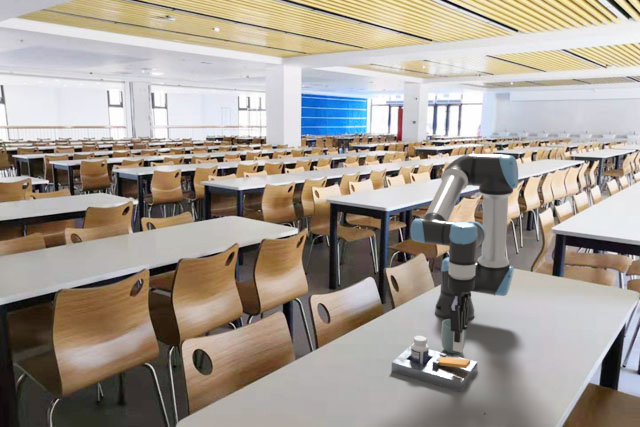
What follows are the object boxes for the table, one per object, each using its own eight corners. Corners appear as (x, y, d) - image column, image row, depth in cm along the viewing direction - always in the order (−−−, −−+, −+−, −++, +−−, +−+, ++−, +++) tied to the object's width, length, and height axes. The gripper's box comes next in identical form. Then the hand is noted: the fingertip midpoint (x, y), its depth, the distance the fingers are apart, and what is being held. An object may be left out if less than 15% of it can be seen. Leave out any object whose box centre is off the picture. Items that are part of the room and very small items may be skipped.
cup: (448, 357, 169) (449, 329, 167) (436, 347, 176) (437, 320, 174) (469, 354, 171) (470, 326, 169) (456, 344, 178) (458, 317, 176)
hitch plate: (411, 353, 172) (411, 339, 171) (476, 370, 160) (477, 356, 159) (391, 371, 160) (391, 356, 159) (460, 392, 148) (461, 376, 147)
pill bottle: (425, 362, 165) (426, 334, 164) (429, 370, 160) (431, 341, 158) (408, 363, 165) (409, 334, 163) (412, 371, 160) (414, 342, 158)
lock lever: (439, 360, 161) (439, 355, 161) (470, 363, 155) (470, 358, 155) (434, 365, 157) (433, 361, 157) (465, 369, 152) (465, 364, 151)
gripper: (456, 267, 157) (453, 339, 162) (441, 279, 147) (438, 356, 152) (481, 271, 153) (477, 345, 158) (466, 284, 143) (463, 362, 148)
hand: (457, 350), depth 155 cm, fingers closed
